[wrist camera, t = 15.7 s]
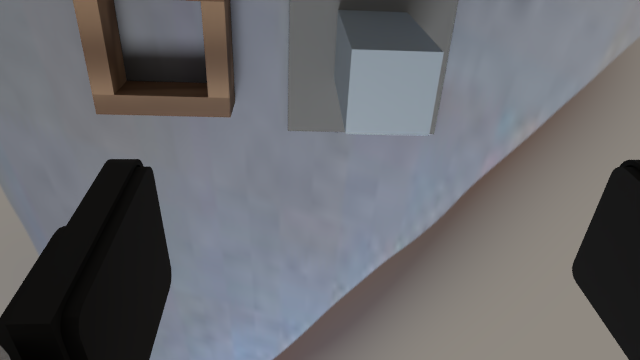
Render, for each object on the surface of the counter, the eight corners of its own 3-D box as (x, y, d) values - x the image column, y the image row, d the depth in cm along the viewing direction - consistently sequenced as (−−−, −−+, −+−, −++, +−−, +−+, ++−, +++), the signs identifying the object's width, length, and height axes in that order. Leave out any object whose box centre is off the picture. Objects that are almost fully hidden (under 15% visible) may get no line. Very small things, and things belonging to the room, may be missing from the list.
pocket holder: (84, -36, 33) (66, -30, 30) (228, -30, 33) (222, -23, 31) (110, 98, 38) (96, 113, 35) (234, 101, 38) (230, 117, 36)
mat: (290, -63, 32) (290, -63, 32) (466, -55, 33) (468, -54, 33) (288, 128, 39) (287, 130, 39) (432, 131, 40) (433, 133, 40)
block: (338, 9, 34) (351, 49, 26) (407, 12, 35) (443, 52, 26) (333, 77, 37) (345, 134, 28) (398, 79, 37) (429, 135, 29)
